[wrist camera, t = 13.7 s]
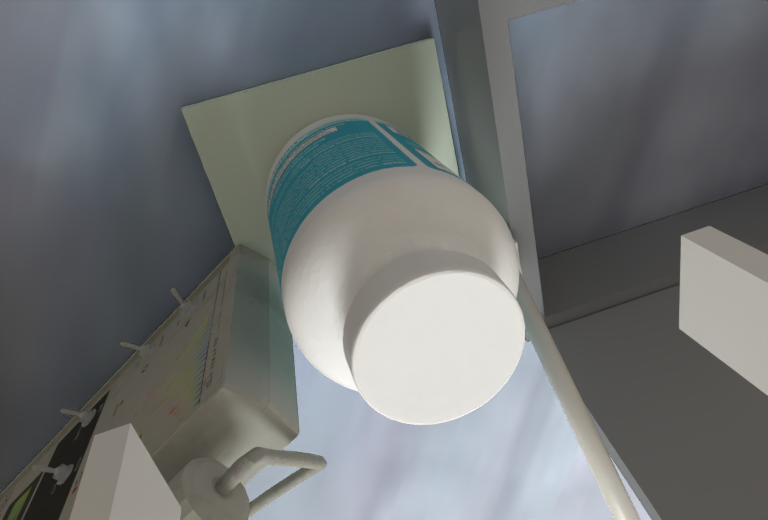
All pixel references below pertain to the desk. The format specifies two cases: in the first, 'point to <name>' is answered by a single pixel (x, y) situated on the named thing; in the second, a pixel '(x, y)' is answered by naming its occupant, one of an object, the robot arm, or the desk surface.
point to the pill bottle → (393, 270)
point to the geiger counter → (191, 404)
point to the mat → (300, 109)
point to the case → (615, 310)
